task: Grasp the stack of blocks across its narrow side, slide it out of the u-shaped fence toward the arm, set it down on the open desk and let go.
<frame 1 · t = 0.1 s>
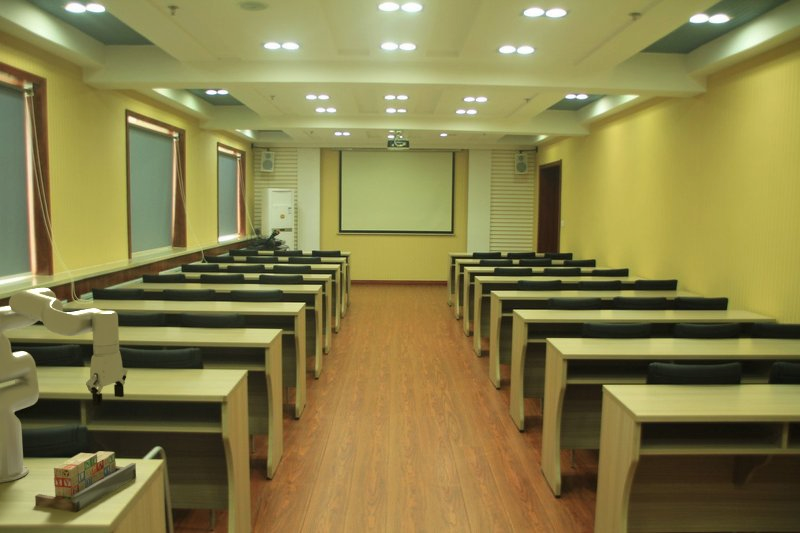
hand: (108, 400, 198), 31 cm above the table, tool pointing down, fingers open, 9 cm apart
u-shaped fence: (88, 490, 203), on the table
stack of blocks: (87, 491, 203), on the table
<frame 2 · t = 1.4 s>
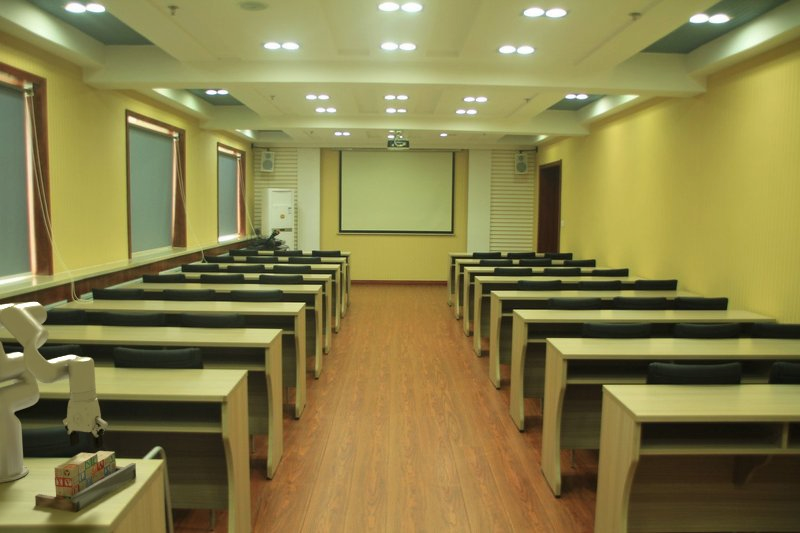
hand: (86, 446, 201), 15 cm above the table, tool pointing down, fingers open, 9 cm apart
nothing on the table moved.
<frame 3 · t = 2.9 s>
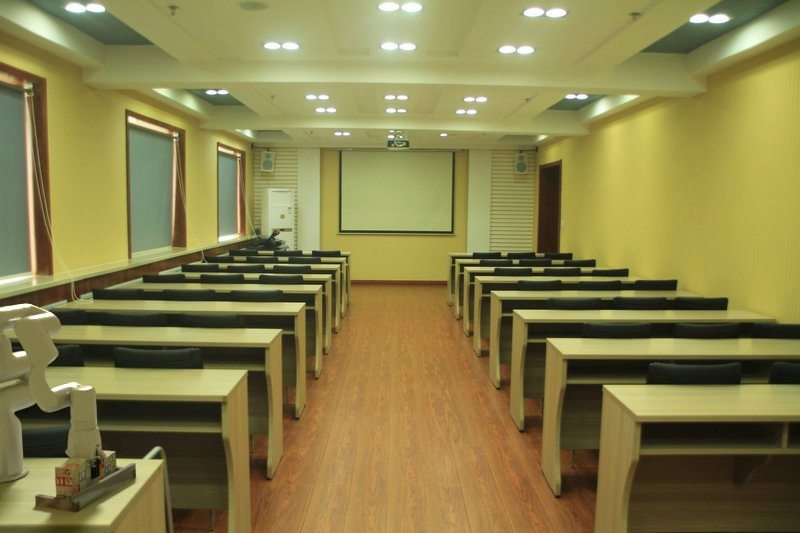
hand: (86, 475, 202), 5 cm above the table, tool pointing down, fingers closed on stack of blocks, 6 cm apart
stack of blocks: (88, 490, 203), on the table, touching gripper
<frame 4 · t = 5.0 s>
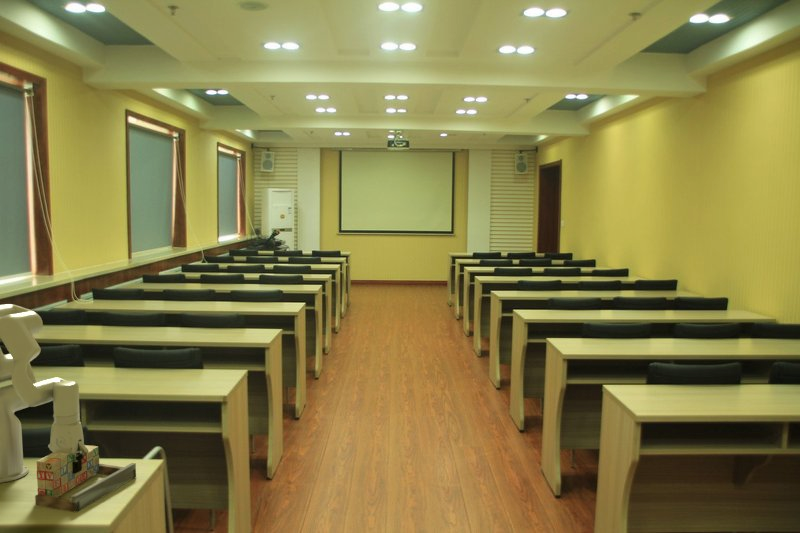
hand: (68, 470, 204), 6 cm above the table, tool pointing down, fingers closed on stack of blocks, 6 cm apart
stack of blocks: (70, 484, 205), point 1 cm above the table, touching gripper
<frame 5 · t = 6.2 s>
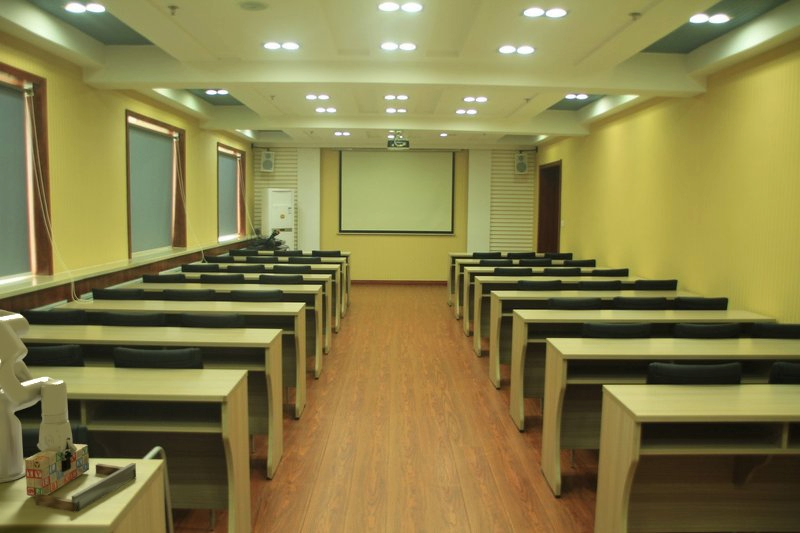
hand: (57, 468, 206), 6 cm above the table, tool pointing down, fingers closed on stack of blocks, 6 cm apart
stack of blocks: (59, 482, 207), point 1 cm above the table, touching gripper
when the fingers open (5 cm above the table, at t = 7.3 s): stack of blocks stays where it is, on the table.
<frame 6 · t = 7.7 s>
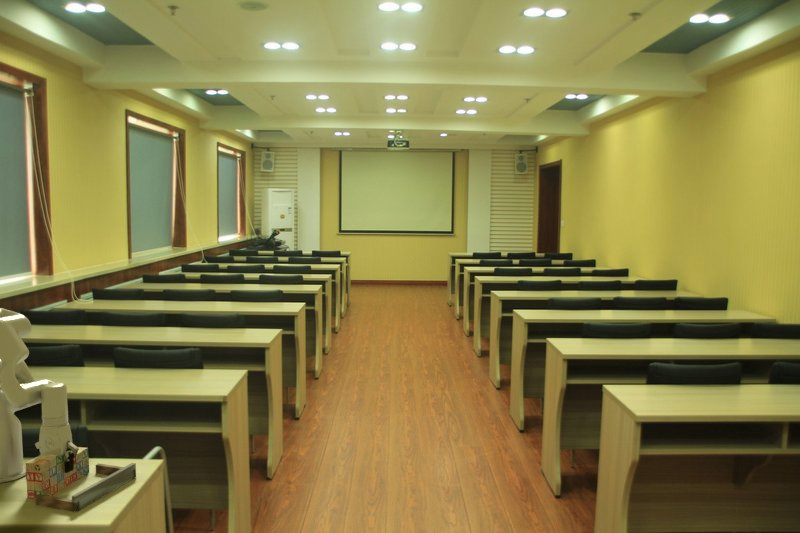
hand: (57, 469, 206), 6 cm above the table, tool pointing down, fingers open, 9 cm apart
stack of blocks: (59, 485, 207), on the table
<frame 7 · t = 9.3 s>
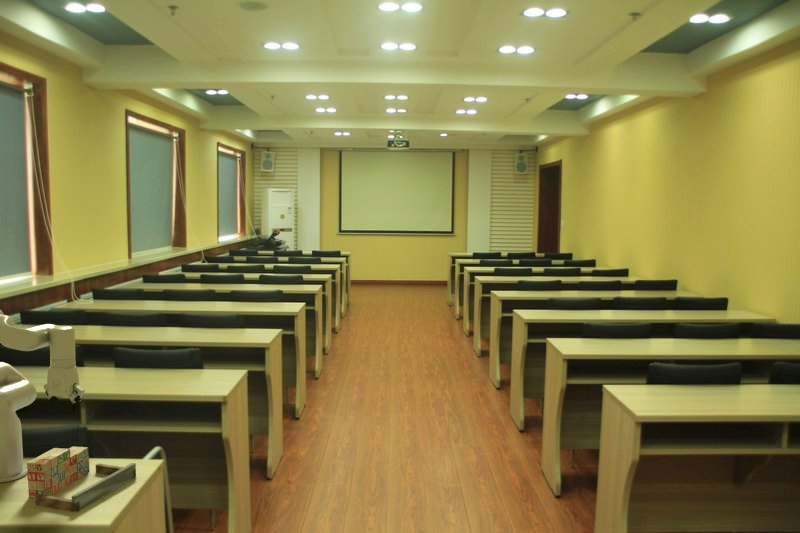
hand: (64, 411, 209), 24 cm above the table, tool pointing down, fingers open, 9 cm apart
nothing on the table moved.
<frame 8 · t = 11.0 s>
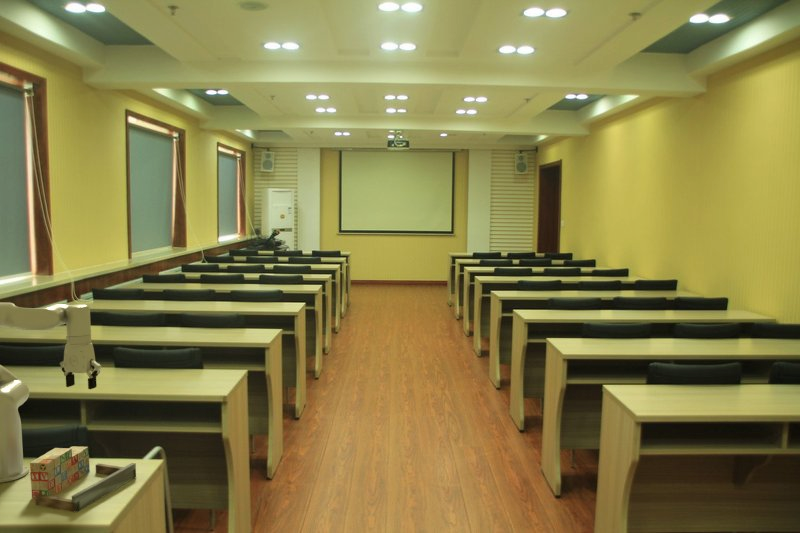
hand: (81, 387, 216), 30 cm above the table, tool pointing down, fingers open, 9 cm apart
at the end: stack of blocks inside the target area (1.8 cm from its centre), on the table; stack of blocks tilted 0°; the gripper is holding nothing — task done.
